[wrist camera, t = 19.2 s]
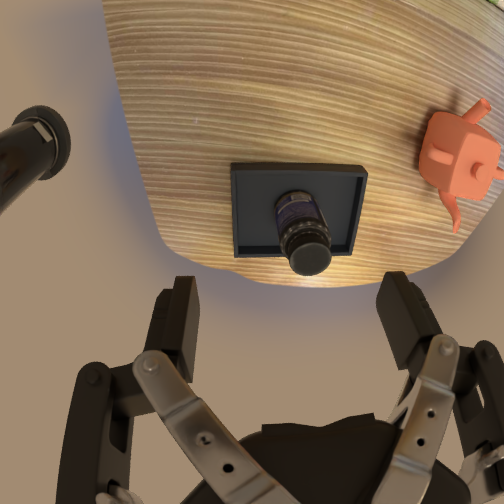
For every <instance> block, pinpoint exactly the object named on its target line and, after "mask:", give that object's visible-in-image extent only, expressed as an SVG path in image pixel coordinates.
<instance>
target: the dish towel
mask: <svg viewBox="0 0 504 504" xmlns="http://www.w3.org/2000/svg"><path fill="white" fill-rule="evenodd" d="M488 1H490V2H491V3H493V4H495V5H496V6H498V7H499V8H501V9H502V10H503V11H504V0H488Z"/></svg>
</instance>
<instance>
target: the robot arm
mask: <svg viewBox="0 0 504 504" xmlns="http://www.w3.org/2000/svg"><path fill="white" fill-rule="evenodd" d="M59 152H60V144H59V138H58V135H57V132H56V130H55V128H54V127H53V126H52V124H51V123H50V122H49V121H48V120H46V119H45V118H43V117H40V116H29V117H27V118H25V119H23V120H22V121H20V122H19V123H17V124H15V125H13V126H11V127H9V128H8V129H6V130H4V131H2V132H1V133H0V215H1V214H2V213H3V212H4V211H5V210H6V209H7V208H8V207H9V206H10V205H11V204H12V203H13V202H14V201H15V200H16V199H17V198H18V197H19V196H21V195H22V194H23V193H24V192H25V191H26V190H27V189H28V188H29V187H30V186H31V185H32V184H33V183H35V182H36V181H37V180H38V179H39V178H40V177H41V176H43V175H44V174H45V173H47V172H48V171H49V170H50V169H52V168H53V166H54V165H55V164H56V162H57V160H58V157H59ZM376 308H377V312H378V314H379V317H380V319H381V322H382V325H383V328H384V330H385V333H386V336H387V338H388V341H389V344H390V347H391V350H392V352H393V355H394V358H395V361H396V364H397V367H398V370H404V369H408V371H409V374H408V376H407V378H406V380H405V383H404V386H403V388H402V390H401V393H400V395H399V397H398V400H397V402H396V405H395V407H394V409H393V411H392V413H391V414H390V416H389V417H388V419H387V421H386V422H385V421H382V420H376V419H375V417H374V413H369V414H363V415H357V416H350V417H347V418H344V419H342V420H339V421H336V422H334V423H331V424H329V425H326V426H323V427H315V426H308V425H301V424H295V423H282V424H262V430H261V431H259V432H255V433H253V434H250V435H248V436H246V437H244V438H242V439H241V440H239V441H237V440H236V439H235V438H234V437H233V435H232V434H231V433H230V432H229V431H228V430H227V428H226V427H225V426H224V425H223V424H222V422H221V421H220V420H219V419H218V418H217V417H216V415H215V414H214V413H213V412H212V410H211V409H210V408H209V407H208V405H207V404H206V403H205V402H204V401H203V400H202V399H201V398H199V397H197V396H196V395H195V393H194V392H193V391H192V389H191V388H190V387H189V385H188V384H187V383H192V381H193V371H194V361H195V351H196V342H197V334H198V325H199V316H200V305H199V297H198V292H197V286H196V280H195V276H176V278H175V282H174V286H173V289H163V291H162V292H161V293H160V294H159V296H158V297H157V299H156V302H155V306H154V310H153V314H152V319H151V322H150V326H149V330H148V334H147V339H146V343H145V347H144V350H143V352H142V353H141V354H140V355H138V356H137V357H136V359H135V360H134V362H132V363H130V364H127V365H124V366H119V367H114V368H108V367H107V366H106V365H105V364H104V363H101V362H91V363H88V364H86V365H85V366H83V368H81V370H80V371H79V373H78V375H77V379H76V383H75V387H74V392H73V396H72V401H71V405H70V409H69V414H68V419H67V424H66V430H65V435H64V440H63V447H62V453H61V459H60V466H59V474H58V483H57V492H56V504H143V502H142V500H141V499H140V498H139V497H138V496H137V495H136V494H134V493H132V492H130V491H129V475H130V460H131V446H132V435H133V425H134V416H139V415H144V414H148V413H153V412H157V413H158V415H159V417H160V418H161V420H162V422H163V423H164V425H165V426H166V428H167V429H168V430H169V432H170V433H171V435H172V436H173V438H174V439H175V441H176V442H177V443H178V445H179V446H180V447H181V449H182V450H183V452H184V453H185V454H186V456H187V457H188V459H189V460H190V461H191V463H192V464H193V465H194V466H195V468H196V469H197V470H198V472H199V473H200V474H201V475H202V477H203V478H204V479H203V480H202V481H201V482H200V483H199V484H198V485H197V486H196V487H195V488H194V490H193V491H192V492H191V493H190V494H189V495H188V496H187V497H186V498H185V499H184V500H183V501H182V502H181V503H180V504H483V503H486V502H488V501H491V500H494V499H496V498H499V497H501V496H504V363H503V361H502V359H501V356H500V354H499V352H498V350H497V348H496V347H495V346H494V345H493V344H492V343H491V342H489V341H486V340H483V341H479V342H478V343H477V344H476V345H475V347H474V348H470V347H463V346H459V345H458V343H457V342H456V340H455V339H454V338H452V337H450V336H449V335H446V334H443V332H442V330H441V328H440V326H439V324H438V322H437V320H436V318H435V316H434V314H433V312H432V310H431V308H430V307H429V304H428V302H427V301H426V298H425V296H424V294H423V293H422V291H421V289H420V288H419V287H417V286H416V285H415V284H414V283H413V282H409V280H408V278H407V276H406V275H405V273H404V272H403V271H392V272H386V273H385V275H384V278H383V281H382V284H381V286H380V289H379V292H378V295H377V298H376ZM478 385H479V387H480V390H481V393H482V396H483V399H484V408H483V406H482V403H481V400H480V397H479V394H478V391H477V388H476V387H477V386H478ZM452 409H453V413H454V416H455V420H456V424H457V428H458V432H459V436H460V440H461V445H462V449H463V453H464V458H465V459H464V461H463V463H462V468H461V469H460V471H459V476H458V475H456V474H455V473H454V472H453V471H451V470H450V469H449V468H448V467H446V466H445V465H444V464H442V463H441V462H440V461H439V460H437V459H436V456H437V454H438V451H439V448H440V445H441V442H442V440H443V437H444V434H445V430H446V427H447V424H448V421H449V418H450V414H451V411H452Z"/></svg>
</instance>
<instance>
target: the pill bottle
mask: <svg viewBox="0 0 504 504" xmlns="http://www.w3.org/2000/svg"><path fill="white" fill-rule="evenodd" d="M274 217H275V222H276V227H277V233H278V238H279V244H280V249H281V252H282V253H283V255H284V256H285V257H286V258H287V259H288V260H289V264H290V267H291V268H292V270H293V271H294V272H295V273H297V274H299V275H303V276H312V275H316V274H319V273H321V272H322V271H324V270H325V269H326V268H327V267H328V266H329V264H330V262H331V258H332V255H331V251H330V246H331V234H330V231H329V229H328V226H327V224H326V221H325V219H324V217H323V214H322V212H321V210H320V207H319V205H318V203H317V201H316V199H315V198H314V197H313V196H312V195H311V194H309V193H307V192H305V191H290V192H288V193H286V194H284V195H282V196H281V197H280V198H279V199H278V201H277V202H276V204H275V207H274Z"/></svg>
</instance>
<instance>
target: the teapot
mask: <svg viewBox="0 0 504 504" xmlns="http://www.w3.org/2000/svg"><path fill="white" fill-rule="evenodd" d="M490 111H491V106H490V104H489V103H488V101H487V100H485V99H484V98H481V99H480V100H479V101H478V102H477V103H476V104H475V105H474V106H473V107H472V108H470V109H469V110H468V111H467V112H466V113H465V114H464V115H463V116H462V117H461V116H458V115H454V114H451V113H447V112H435V113H434V114H433V116H432V118H431V119H429V121H428V128H427V131H426V134H425V137H424V140H423V144H422V149H421V152H420V154H419V160H420V161H419V171H420V173H421V176H422V177H423V178H424V179H425V180H426V181H427V182H428V183H430V184H431V185H433V186H434V187H436V188H438V192H439V196H440V199H441V201H442V203H443V204H444V206H445V207H446V208H447V210H448V211H449V212H450V214H451V216H452V220H453V233H456V232H457V231H458V229H459V227H460V223H461V216H460V212H459V209H458V206H457V203H456V196H458V197H463V198H467V199H472V200H482V199H483V198H484V196H485V195H486V193H487V191H488V189H489V187H490V184H491V182H492V180H493V178H495V179H498V180H503V179H504V170H503V169H501V168H500V167H498V166H497V165H498V161H499V157H500V151H501V146H500V144H499V143H498V142H497V141H496V140H495V139H494V138H493V136H492V135H491V134H489V133H488V132H487V131H486V130H485V129H483V128H482V127H481V126H479V125H477V124H476V123H477V122H478V121H479V120H480V119H482V118H483V117H484V116H485V115H486V114H487V113H488V112H490Z"/></svg>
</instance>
